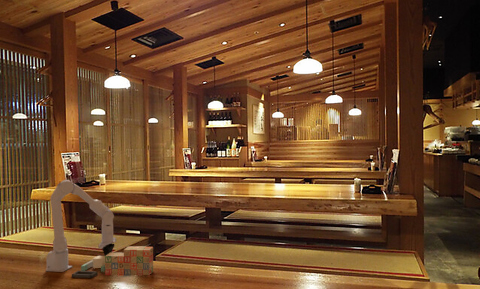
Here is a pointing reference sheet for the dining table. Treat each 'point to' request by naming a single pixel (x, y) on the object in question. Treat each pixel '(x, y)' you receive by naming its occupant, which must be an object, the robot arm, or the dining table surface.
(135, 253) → the stack of blocks
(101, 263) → the cream block
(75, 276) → the trap pit
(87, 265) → the lane walls
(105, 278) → the dining table surface
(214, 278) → the dining table surface
